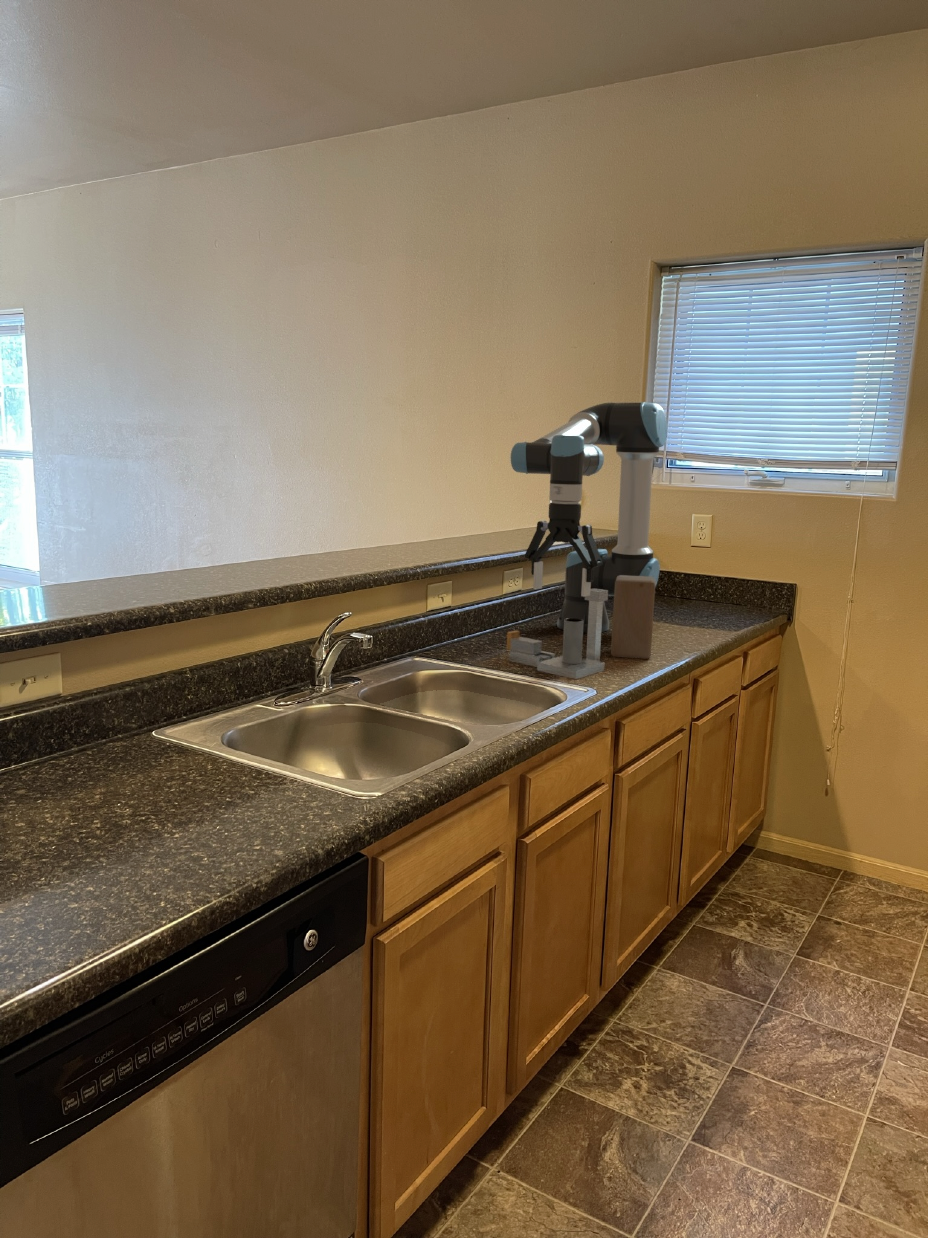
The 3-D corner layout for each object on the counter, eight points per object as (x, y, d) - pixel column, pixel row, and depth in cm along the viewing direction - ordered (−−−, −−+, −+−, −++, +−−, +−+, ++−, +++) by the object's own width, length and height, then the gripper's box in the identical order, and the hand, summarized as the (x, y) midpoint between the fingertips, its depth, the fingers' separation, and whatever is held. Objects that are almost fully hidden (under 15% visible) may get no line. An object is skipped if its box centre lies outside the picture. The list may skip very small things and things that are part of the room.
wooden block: (650, 660, 231) (655, 581, 227) (610, 657, 233) (614, 579, 229) (650, 651, 241) (655, 576, 237) (612, 649, 242) (616, 574, 239)
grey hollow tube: (565, 659, 221) (567, 617, 219) (583, 661, 219) (585, 619, 217) (559, 663, 216) (561, 620, 214) (578, 665, 215) (580, 622, 213)
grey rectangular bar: (515, 647, 230) (515, 630, 229) (541, 653, 225) (542, 635, 224) (506, 649, 228) (507, 632, 227) (533, 655, 223) (533, 637, 222)
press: (544, 652, 237) (547, 581, 233) (616, 666, 223) (620, 592, 220) (502, 662, 224) (505, 588, 220) (576, 679, 210) (580, 600, 206)
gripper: (512, 499, 218) (509, 587, 222) (603, 506, 203) (598, 600, 207) (530, 498, 224) (527, 584, 228) (620, 505, 208) (615, 596, 212)
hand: (561, 592), depth 217 cm, fingers open, 13 cm apart
